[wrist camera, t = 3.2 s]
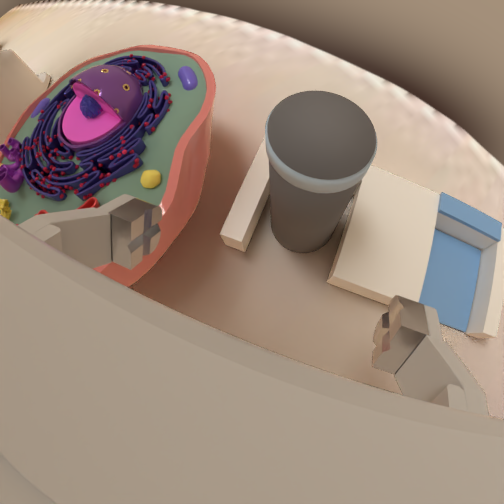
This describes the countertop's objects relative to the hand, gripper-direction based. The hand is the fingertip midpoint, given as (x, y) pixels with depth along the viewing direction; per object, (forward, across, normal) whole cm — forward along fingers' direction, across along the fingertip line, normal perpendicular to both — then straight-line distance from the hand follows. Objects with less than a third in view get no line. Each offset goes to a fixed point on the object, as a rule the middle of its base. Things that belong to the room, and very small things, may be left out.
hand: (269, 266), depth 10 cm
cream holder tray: (+12, -6, +4) cm, 14 cm away
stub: (+12, 0, +4) cm, 13 cm away
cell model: (+10, +14, +6) cm, 19 cm away
